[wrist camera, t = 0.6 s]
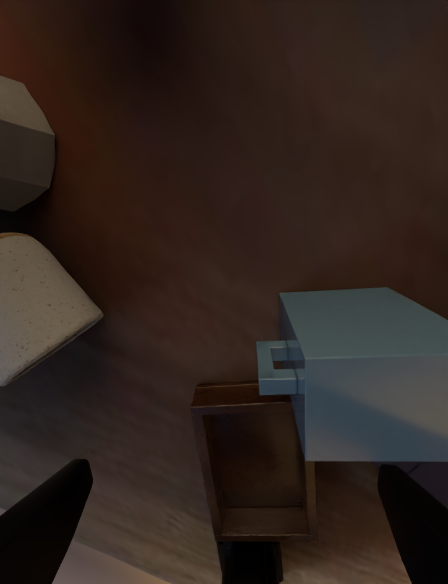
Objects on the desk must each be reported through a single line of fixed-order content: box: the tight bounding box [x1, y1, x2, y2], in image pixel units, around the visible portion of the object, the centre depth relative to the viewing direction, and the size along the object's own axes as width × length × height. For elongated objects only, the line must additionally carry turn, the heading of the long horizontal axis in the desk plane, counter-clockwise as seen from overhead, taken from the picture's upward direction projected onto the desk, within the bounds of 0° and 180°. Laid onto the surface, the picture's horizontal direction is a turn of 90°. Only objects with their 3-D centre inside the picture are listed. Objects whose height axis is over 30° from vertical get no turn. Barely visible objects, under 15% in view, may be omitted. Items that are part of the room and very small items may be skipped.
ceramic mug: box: [0, 233, 103, 386], centre depth 20 cm, size 11×8×8 cm
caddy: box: [191, 381, 318, 542], centre depth 24 cm, size 15×9×3 cm, turn 7°
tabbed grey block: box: [256, 287, 448, 462], centre depth 17 cm, size 6×11×10 cm, turn 94°
